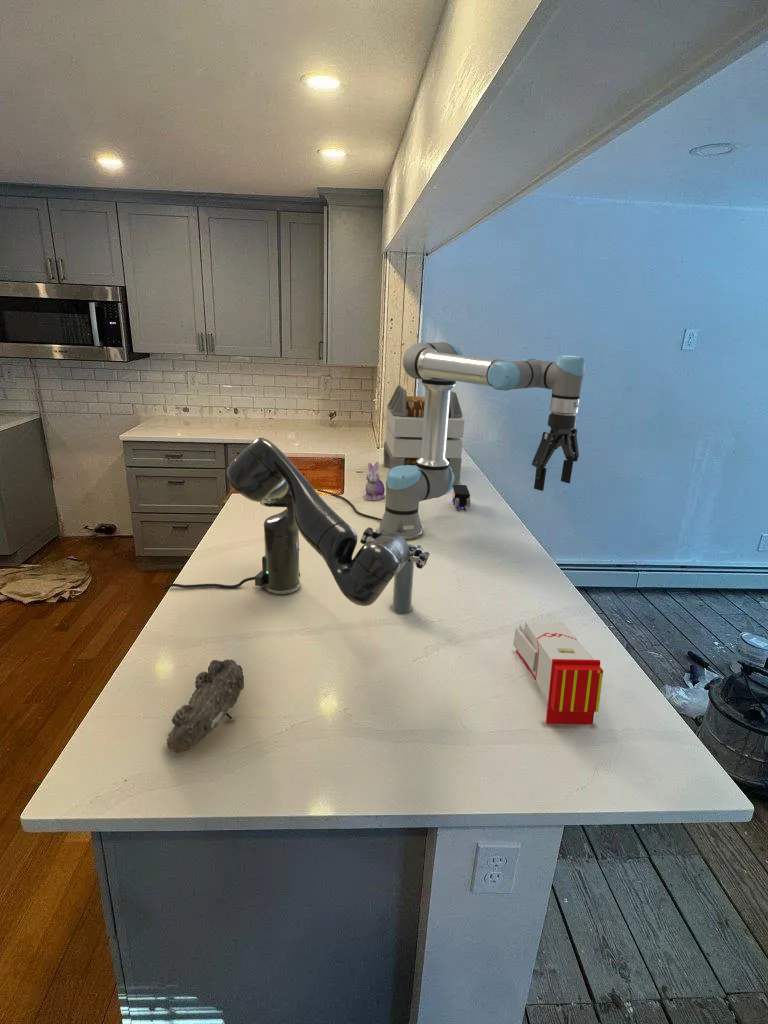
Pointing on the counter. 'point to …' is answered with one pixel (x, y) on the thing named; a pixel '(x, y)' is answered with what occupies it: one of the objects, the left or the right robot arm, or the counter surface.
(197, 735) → the fossil
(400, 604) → the jar
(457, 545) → the counter surface
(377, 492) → the figurine
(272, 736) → the counter surface
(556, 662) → the toy
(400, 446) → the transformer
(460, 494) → the figurine character
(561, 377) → the right robot arm
